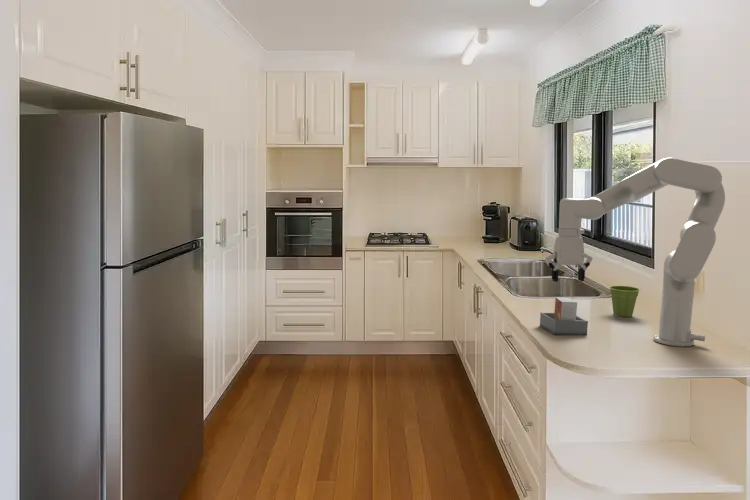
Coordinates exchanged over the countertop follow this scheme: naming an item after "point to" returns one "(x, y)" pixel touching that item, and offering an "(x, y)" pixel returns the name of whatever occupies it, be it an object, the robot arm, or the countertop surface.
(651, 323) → the countertop surface
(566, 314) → the small box
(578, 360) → the countertop surface
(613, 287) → the plant pot
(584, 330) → the crate
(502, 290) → the countertop surface
